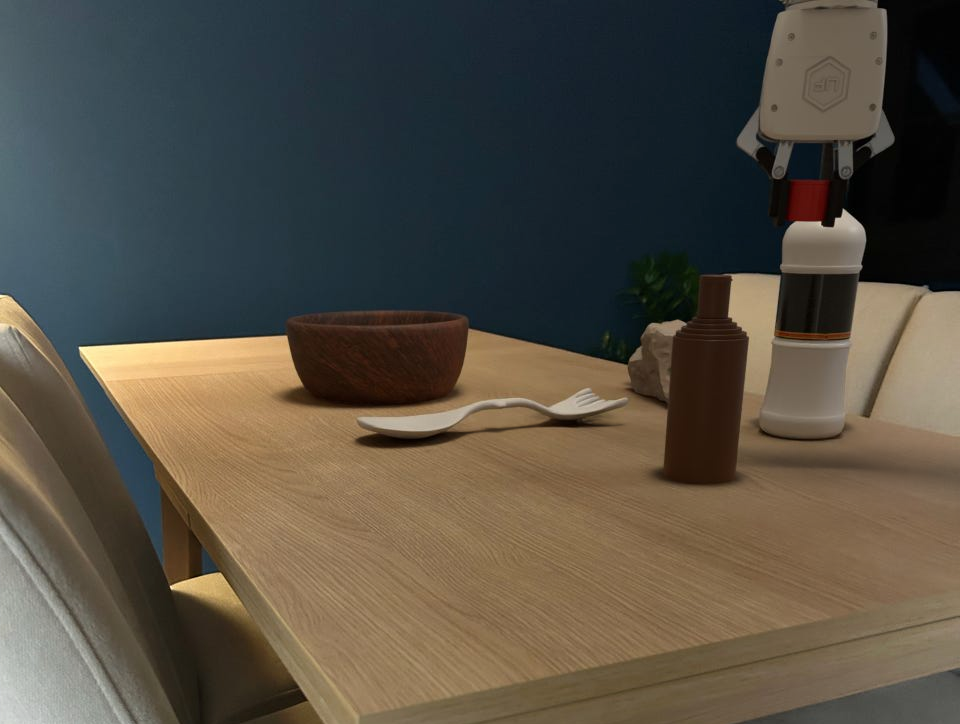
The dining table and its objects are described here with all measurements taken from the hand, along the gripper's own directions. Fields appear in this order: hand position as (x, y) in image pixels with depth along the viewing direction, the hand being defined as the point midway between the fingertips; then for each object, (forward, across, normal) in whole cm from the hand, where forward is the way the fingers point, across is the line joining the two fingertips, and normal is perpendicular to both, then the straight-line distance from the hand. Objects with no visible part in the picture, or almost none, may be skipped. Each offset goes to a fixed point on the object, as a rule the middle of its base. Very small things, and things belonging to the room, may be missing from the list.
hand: (803, 224), depth 90 cm
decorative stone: (+22, -9, +35) cm, 42 cm away
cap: (0, 0, 0) cm, 0 cm away
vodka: (+22, +4, +13) cm, 26 cm away
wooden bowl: (+23, -50, +34) cm, 64 cm away
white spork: (+22, -30, +10) cm, 39 cm away
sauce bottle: (+22, -8, -13) cm, 27 cm away
